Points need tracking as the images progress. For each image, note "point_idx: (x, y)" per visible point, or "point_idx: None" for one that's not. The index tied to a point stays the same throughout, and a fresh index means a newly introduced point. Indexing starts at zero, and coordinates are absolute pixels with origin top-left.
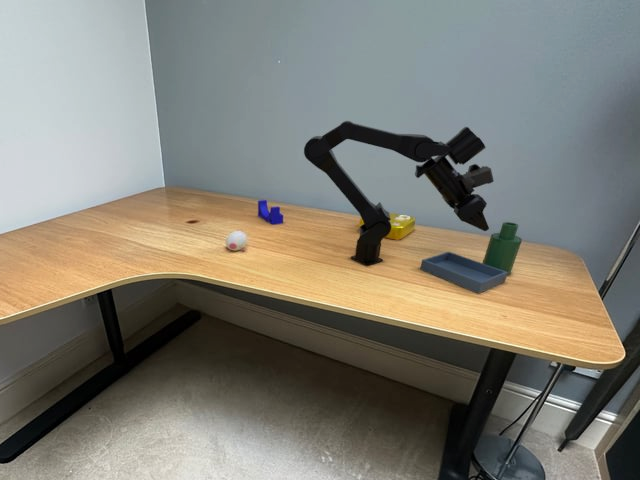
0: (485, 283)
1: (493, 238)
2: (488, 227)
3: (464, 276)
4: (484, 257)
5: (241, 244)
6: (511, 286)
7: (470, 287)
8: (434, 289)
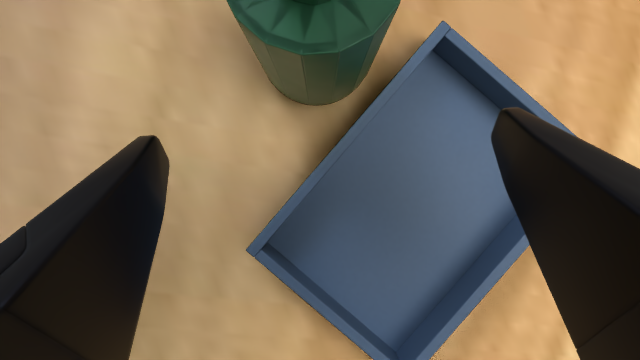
0: None
1: (349, 49)
2: (531, 115)
3: None
4: (308, 93)
5: None
6: (459, 22)
7: None
8: None
